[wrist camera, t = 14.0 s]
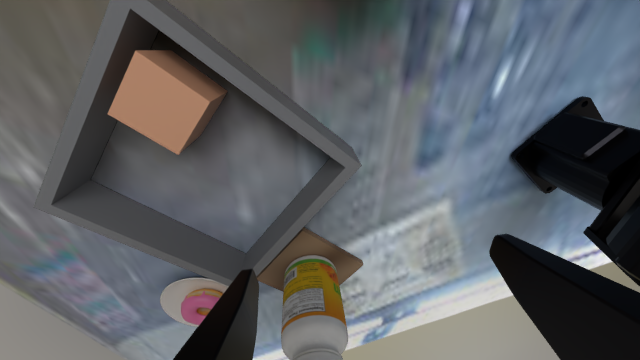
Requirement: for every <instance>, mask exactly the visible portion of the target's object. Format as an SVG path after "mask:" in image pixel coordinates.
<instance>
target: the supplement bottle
mask: <svg viewBox="0 0 640 360" xmlns="http://www.w3.org/2000/svg"><path fill="white" fill-rule="evenodd" d="M347 342H348V333H347V326H346V321H345V315H344V310H343V304H342V298H341V293H340V287H339V282H338V276H337V271H336V268H335V266H334V264H333V263H332V262H331V261H330V260H328V259H327V258H325V257H322V256H318V255H308V256H303V257H300V258H298V259H296V260H294V261H293V262H292V263H290V265H289V266H288V267H287V269H286V271H285V277H284V294H283V314H282V332H281V344H282V349H283V352H284V353H285V355H286V356H287V357H288V358H289V359H290V360H343V358H342V356H341V354H342V353H343V351H344V350H345V348H346V346H347Z"/></svg>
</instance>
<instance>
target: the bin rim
mask: <svg viewBox="0 0 640 360" xmlns="http://www.w3.org/2000/svg"><path fill="white" fill-rule="evenodd" d="M159 30H160V31H161V32H163V33H164V34H166V35H167V36H168V37H170V38H171V39H172V40H174V41H175V42H176V43H178V44H179V45H180V46H182V47H183V48H184V49H186V50H187V51H189V52H190V53H191V54H193V55H194V56H195V57H197V58H198V59H199V60H201V61H202V62H203V63H205V64H206V65H207V66H209V67H210V68H211V69H213V70H214V71H216V72H217V73H218V74H220V75H221V76H222V77H224V78H225V79H226V80H228V81H229V82H230V83H232V84H233V85H234V86H236V87H237V88H238V89H240V90H241V91H243V92H244V93H245V94H247V95H248V96H249V97H251V98H252V99H253V100H255V101H256V102H257V103H259V104H260V105H261V106H263V107H264V108H265V109H267V110H268V111H270V112H271V113H272V114H274V115H275V116H276V117H278V118H279V119H280V120H282V121H283V122H284V123H286V124H287V125H288V126H290V127H291V128H293V129H294V130H295V131H297V132H298V133H299V134H301V135H302V136H303V137H305V138H306V139H307V140H309V141H310V142H311V143H313V144H314V145H315V146H317V147H318V148H320V149H321V150H322V151H324V152H325V153H326V154H328V155H329V156H330V159H329V160H328V161H327V162H326V163H325V164H324V165H323V167H322V168H321V169H320V170H319V171H318V172H317V173H316V175H315V176H314V177H313V178H312V179H311V180H310V181H309V183H308V184H307V185H306V186H305V187H304V188H303V189H302V190H301V192H300V193H299V194H298V195H297V196H296V197H295V198H294V200H293V201H292V202H291V203H290V204H289V205H288V206H287V208H286V209H285V210H284V211H283V212H282V213H281V214H280V216H279V217H278V218H277V219H276V220H275V221H274V222H273V224H272V225H271V226H270V227H269V228H268V229H267V230H266V232H265V233H264V234H263V235H262V236H261V237H260V238H259V239H258V241H257V242H256V243H255V244H254V245H253V246H252V247H251V249H250V250H249V251H248V252H247V253H244V252H241V251H239V250H237V249H235V248H233V247H231V246H229V245H227V244H225V243H222V242H220V241H218V240H216V239H214V238H212V237H210V236H208V235H205V234H203V233H201V232H199V231H197V230H195V229H193V228H191V227H189V226H186V225H184V224H182V223H180V222H178V221H176V220H174V219H172V218H170V217H167V216H165V215H163V214H161V213H159V212H157V211H155V210H153V209H150V208H148V207H146V206H144V205H142V204H140V203H138V202H136V201H134V200H131V199H129V198H127V197H125V196H123V195H121V194H119V193H117V192H114V191H112V190H110V189H108V188H106V187H104V186H102V185H100V184H98V183H95V182H93V181H91V180H90V179H91V177H92V175H93V173H94V170H95V168H96V166H97V164H98V162H99V159H100V157H101V155H102V153H103V151H104V149H105V146H106V144H107V142H108V140H109V138H110V135H111V133H112V131H113V129H114V127H115V125H116V122H117V119H115V118H114V117H112V116H110V115H108V112H109V109H110V107H111V105H112V103H113V100H114V98H115V96H116V93H117V91H118V89H119V87H120V84H121V82H122V80H123V78H124V75H125V73H126V71H127V69H128V66H129V64H130V62H131V60H132V57H133V55H134V53H135V51H136V50H150V48H151V46H152V44H153V42H154V40H155V37H156V35H157V33H158V31H159ZM361 166H362V165H361V163H360V161H359V160H358V158H357V156H356V154H355V152H354V151H353V149H352V147H351V146H349V145H348V144H347V143H346V142H344V141H343V140H342V139H341V138H339V137H338V136H337V135H336V134H334V133H333V132H332V131H331V130H329V129H328V128H327V127H325V126H324V125H323V124H322V123H320V122H319V121H318V120H317V119H315V118H314V117H313V116H312V115H310V114H309V113H308V112H307V111H305V110H304V109H303V108H301V107H300V106H299V105H298V104H296V103H295V102H294V101H293V100H291V99H290V98H289V97H288V96H286V95H285V94H284V93H283V92H281V91H280V90H279V89H277V88H276V87H275V86H274V85H272V84H271V83H270V82H269V81H267V80H266V79H265V78H264V77H262V76H261V75H260V74H259V73H257V72H256V71H255V70H253V69H252V68H251V67H250V66H248V65H247V64H246V63H245V62H243V61H242V60H241V59H240V58H238V57H237V56H236V55H235V54H233V53H232V52H231V51H229V50H228V49H227V48H226V47H224V46H223V45H222V44H221V43H219V42H218V41H217V40H216V39H214V38H213V37H212V36H211V35H209V34H208V33H207V32H205V31H204V30H203V29H202V28H200V27H199V26H198V25H197V24H195V23H194V22H193V21H192V20H190V19H189V18H188V17H187V16H185V15H184V14H183V13H181V12H180V11H179V10H178V9H176V8H175V7H174V6H173V5H171V4H170V3H169V2H168V1H166V0H110V2H109V5H108V7H107V10H106V13H105V15H104V18H103V21H102V24H101V26H100V29H99V32H98V34H97V37H96V40H95V42H94V45H93V48H92V51H91V53H90V56H89V59H88V61H87V64H86V67H85V69H84V72H83V75H82V78H81V80H80V83H79V86H78V88H77V91H76V94H75V96H74V99H73V102H72V105H71V107H70V110H69V113H68V115H67V118H66V121H65V123H64V126H63V129H62V132H61V134H60V137H59V140H58V142H57V145H56V148H55V150H54V153H53V156H52V159H51V161H50V164H49V167H48V169H47V172H46V175H45V177H44V180H43V183H42V186H41V188H40V191H39V194H38V196H37V199H36V202H35V205H34V208H36V209H39V210H41V211H44V212H46V213H49V214H51V215H54V216H56V217H59V218H61V219H64V220H66V221H68V222H71V223H73V224H76V225H78V226H81V227H83V228H86V229H88V230H91V231H93V232H96V233H98V234H100V235H103V236H105V237H108V238H110V239H113V240H115V241H118V242H120V243H123V244H125V245H128V246H130V247H133V248H135V249H137V250H140V251H142V252H145V253H147V254H150V255H152V256H155V257H157V258H160V259H162V260H165V261H167V262H170V263H172V264H174V265H177V266H179V267H182V268H184V269H187V270H189V271H192V272H194V273H197V274H199V275H202V276H204V277H207V278H209V279H211V280H214V281H216V282H219V283H221V284H224V285H226V286H230V284H231V283H232V282H233V280H234V279H235V278H236V276H237V275H238V274H239V272H240V271H241V270H244V269H253V270H254V272H255V275H256V277H257V276H258V274H259V273H260V272H261V271H262V270H263V269H264V268H265V267H266V266H267V265H268V264H269V263H270V262H271V261H272V260H273V259H274V258H275V257H276V255H277V254H278V253H279V252H280V251H281V250H282V249H283V248H284V247H285V246H286V245H287V244H288V243H289V242H290V241H291V240H292V239H293V238H294V237H295V235H296V234H297V233H298V232H299V231H300V230H301V229H302V228H303V227H304V226H305V225H306V224H307V223H308V222H309V221H310V220H311V219H312V218H313V216H314V215H315V214H316V213H317V212H318V211H319V210H320V209H321V208H322V207H323V206H324V205H325V204H326V203H327V202H328V201H329V200H330V199H331V198H332V196H333V195H334V194H335V193H336V192H337V191H338V190H339V189H340V188H341V187H342V186H343V185H344V184H345V183H346V182H347V181H348V180H349V179H350V177H351V176H352V175H353V174H354V173H355V172H356V171H357V170H358V169H359V168H360V167H361Z"/></svg>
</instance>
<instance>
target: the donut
mask: <svg viewBox="0 0 640 360" xmlns="http://www.w3.org/2000/svg"><path fill="white" fill-rule="evenodd" d="M228 287H229V286H226V285H224V284H221V283H219V282H216V281H214V280H211V279H207V278H186V279H182V280H178V281H176V282H174V283H171V284H170V285H168V286H167V287H166V288H165V289H164V290H163V292H162V294H161V297H160V303H161V306H162V308H163V310H164V311H165V312H166V313H167V314H168V315H169V316H170V317H171V318H173V319H174V320H176V321H178V322H180V323H183V324H186V325H190V326H195V327H198V326H199V325H200V324H201V322H202V321H203V320H204V318H205V317H206V316H207V314H208V313H209V312H210V310H211V309H212V308H213V306H214V305H215V304H216V303H217V301H218V300H219V299H220V297H221V296H222V295H223V293H224V292H225V291H226V289H227V288H228Z"/></svg>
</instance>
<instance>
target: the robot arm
mask: <svg viewBox="0 0 640 360" xmlns="http://www.w3.org/2000/svg"><path fill="white" fill-rule="evenodd" d="M512 159H513V160H514V161H515V162H516V163H517V164H518V165H519V167H520V168H521V169H522V170H523V171H524V172H525V173H526V175H527V176H528V177H529V178H530V179H531V180H532V181H533V183H534V184H535V185H536V186H537V187H538V188H539V189H540V191H542V192H544V193H550V192H552V191H553V190H554V189H556V188H557V187H558V188H560V189H562V190H564V191H565V192H567V193H569V194H571V195H573V196H575V197H577V198H578V199H580V200H582V201H584V202H586V203H588V204H590V205H591V206H593V207H595V208H597V209H599V210H601V212H600V213H599V214H598V216H597V217H596V219H595V220H594V221H593V223H592V224H591V225H590V227H587V228H586V230H585V231H584V234H585V235H586V236H587V237H588V238H589V239H590V240H591V241H592V242H593V243H594V244H595V245H596V246H597V247H598V248H599V249H600V250H601V251H602V252H603V253H604V254H606V255H607V256H608V257H609V258H610V259H611V260H612V261H613V262H614V263H615V264H616V265H617V266H618V267H619V268H620V269H621V270H622V271H623V272H624V273H625V274H626V275H627V276H629V277H630V278H631V279H632V280H633V281H634V282H635V283H637V285H639V286H640V130H638V129H634V128H629V127H625V126H622V125H618V124H613V123H609V122H605V121H604V120H603V119H602V117H601V115H600V113H599V112H598V110H597V108H596V106H595V105H594V103H593V101H592V99H591V98H589V97H579V98H578V99H576V100H575V101H574V102H573V103H572V104H570V105H569V106H568V107H567V108H566V109H564V110H563V111H562V112H561V113H560V114H558V115H557V116H556V117H555V118H554V119H552V120H551V121H550V122H549V123H548V124H546V125H545V126H544V127H543V128H542V129H540V130H539V131H538V132H537V133H536V134H534V135H533V136H532V137H531V138H530V139H528V140H527V141H526V142H525V143H524V144H522V145H521V146H520V147H519V148H518V149H516V150H515V151H514V152H513V154H512ZM489 253H490V257H491V259H492V260H493V262H494V264H495V265H496V267H497V269H498V270H499V272H500V274H501V275H502V277H503V279H504V280H505V282H506V284H507V285H508V287H509V289H510V290H511V292H512V293H513V295H514V297H515V298H516V299H517V301H518V302H519V304H520V305H521V306H522V308H523V309H524V310H525V312H526V313H527V315H528V316H529V317H530V319H531V320H532V321H533V323H534V324H535V325H536V327H537V328H538V330H539V331H540V332H541V334H542V335H543V336H544V338H545V339H546V340H547V342H548V343H549V345H550V346H551V347H552V349H553V350H554V352H555V353H556V354H557V356H558V357H559V358H560V360H640V293H639V292H637V291H634V290H632V289H630V288H628V287H626V286H623V285H621V284H619V283H617V282H614V281H612V280H610V279H608V278H606V277H603V276H601V275H599V274H597V273H594V272H592V271H590V270H588V269H585V268H583V267H581V266H579V265H576V264H574V263H572V262H570V261H567V260H565V259H563V258H561V257H558V256H556V255H554V254H552V253H550V252H547V251H545V250H543V249H541V248H538V247H536V246H534V245H532V244H529V243H527V242H525V241H523V240H520V239H518V238H516V237H514V236H511V235H509V234H501V235H496V236H495V237H494V238H493V241H492V244H491V248H490V251H489ZM258 298H259V284H258V281H257V278H256V275H255V272H254V270H253V269H244V270H241V271H240V272H239V274H238V275H237V276H236V278H235V279H234V280H233V282H232V283H231V284H230V286H229V287H228V288H227V289H226V291H225V292H224V293H223V295H222V296H221V297H220V299H219V300H218V301H217V303H216V304H215V305H214V306H213V308H212V309H211V310H210V312H209V313H208V314H207V316H206V317H205V318H204V320H203V321H202V322H201V324H200V325H199V326H198V327H197V329H196V330H195V331H194V333H193V334H192V335H191V337H190V338H189V339H188V341H187V342H186V343H185V344H184V346H183V347H182V348H181V350H180V351H179V352H178V354H177V355H176V356H175V358H174V359H173V360H252V359H253V353H254V347H255V340H256V333H257V316H258Z"/></svg>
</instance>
